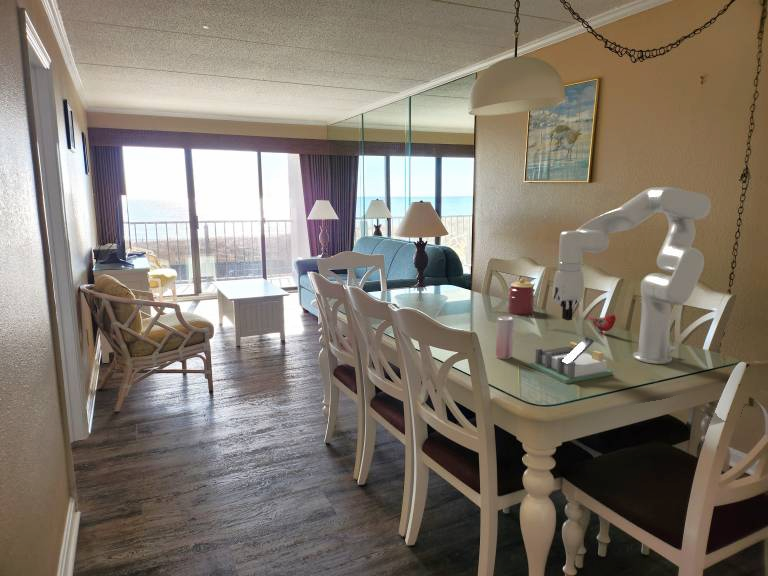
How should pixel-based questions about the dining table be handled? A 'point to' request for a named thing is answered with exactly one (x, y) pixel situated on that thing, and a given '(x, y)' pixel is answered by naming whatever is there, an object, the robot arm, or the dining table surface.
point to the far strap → (558, 350)
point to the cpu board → (571, 365)
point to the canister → (521, 298)
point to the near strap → (577, 351)
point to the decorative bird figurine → (604, 323)
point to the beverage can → (504, 337)
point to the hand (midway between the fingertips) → (567, 319)
